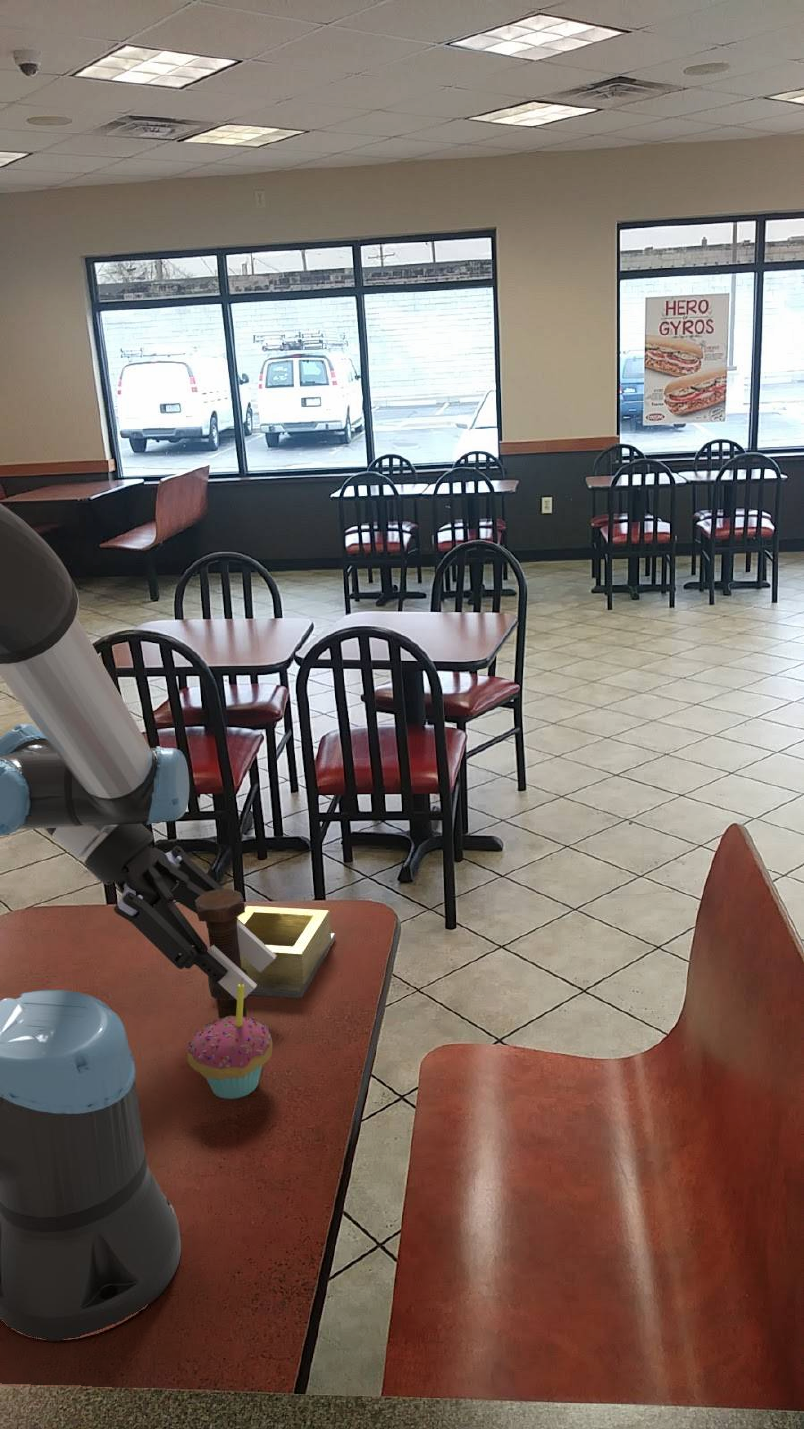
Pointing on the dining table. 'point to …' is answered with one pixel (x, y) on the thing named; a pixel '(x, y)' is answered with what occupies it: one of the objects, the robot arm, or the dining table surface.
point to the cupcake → (231, 1052)
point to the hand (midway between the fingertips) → (258, 978)
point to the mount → (287, 948)
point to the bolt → (223, 938)
